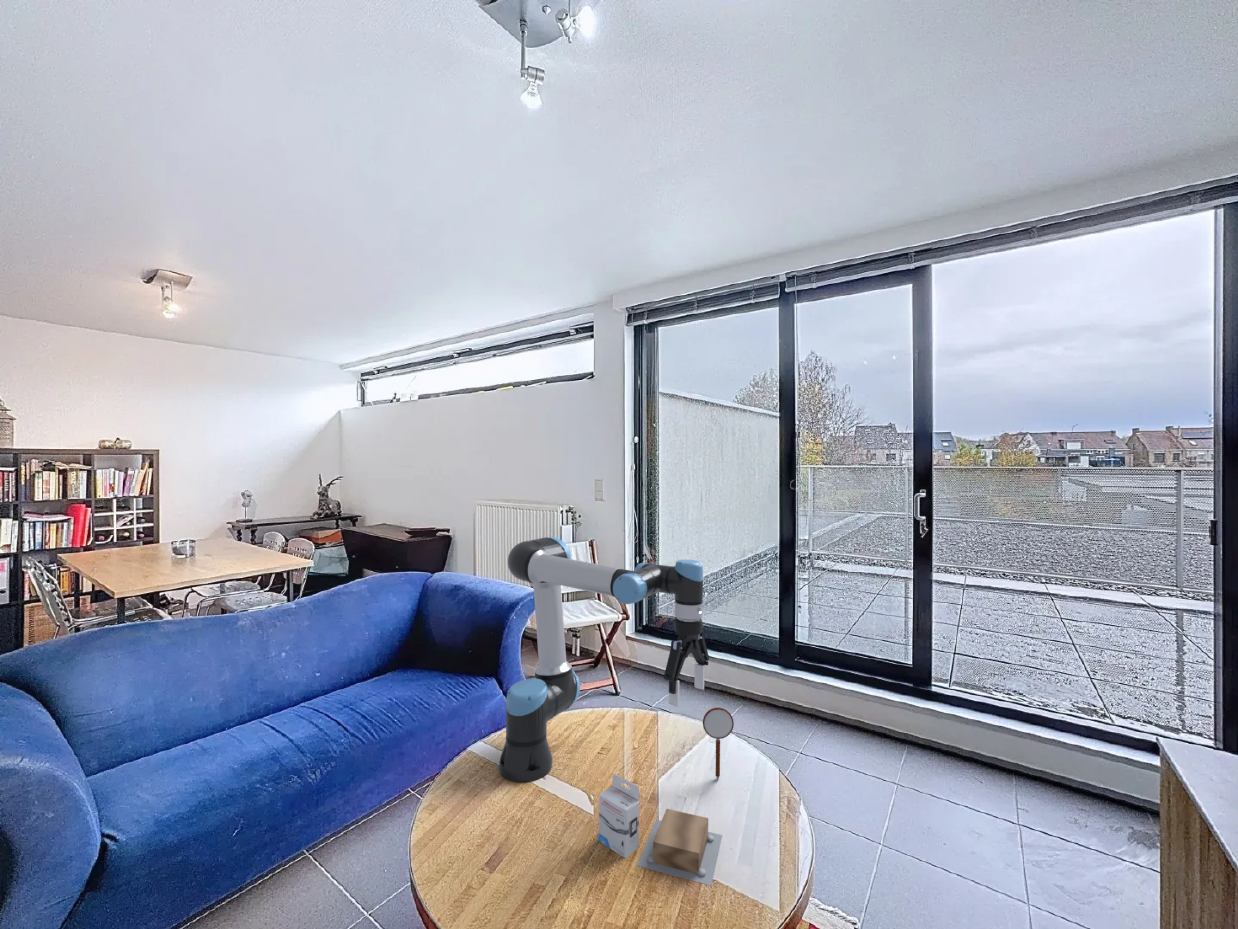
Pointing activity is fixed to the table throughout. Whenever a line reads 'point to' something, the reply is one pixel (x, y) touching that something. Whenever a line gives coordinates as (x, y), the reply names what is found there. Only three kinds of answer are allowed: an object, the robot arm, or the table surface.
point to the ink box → (619, 817)
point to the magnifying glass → (718, 729)
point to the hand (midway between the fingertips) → (687, 696)
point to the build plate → (703, 875)
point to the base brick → (681, 841)
